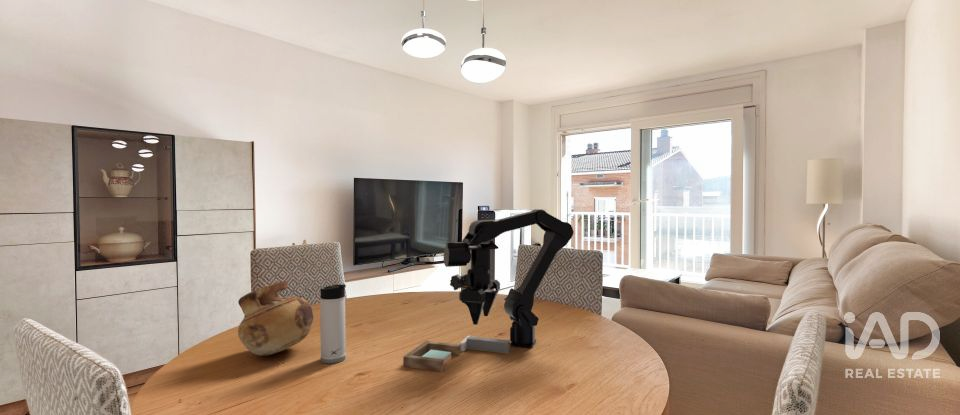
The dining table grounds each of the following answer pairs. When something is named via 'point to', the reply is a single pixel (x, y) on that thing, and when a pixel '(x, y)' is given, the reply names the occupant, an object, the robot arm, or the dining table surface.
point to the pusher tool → (485, 344)
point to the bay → (417, 361)
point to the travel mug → (332, 323)
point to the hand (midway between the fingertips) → (480, 320)
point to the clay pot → (273, 320)
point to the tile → (438, 355)
